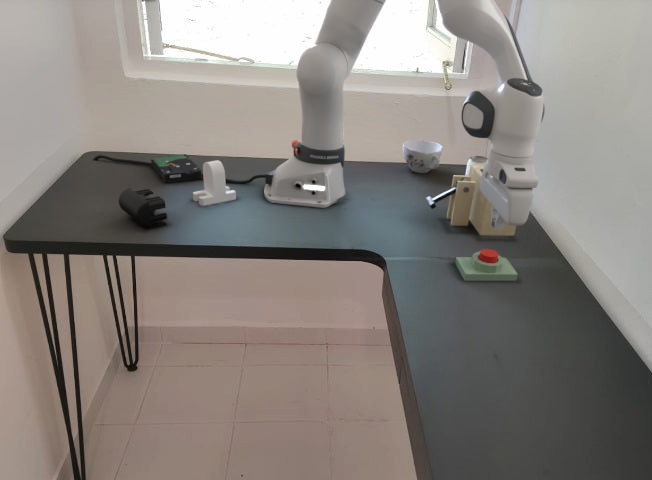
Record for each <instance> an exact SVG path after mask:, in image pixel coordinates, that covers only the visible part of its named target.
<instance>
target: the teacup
mask: <svg viewBox="0 0 652 480" xmlns="http://www.w3.org/2000/svg"><path fill="white" fill-rule="evenodd" d="M443 150H444V149H443V146H442V145H441V144H440V143H437V142H435V141H431V140H424V139H411V140H407V141H405V142H403V143H402V151H403V157H404V160H405V162H406V164H407V166H408V167H409V168H410V170H411V171H412V172H414V173H419V174H425V173H429V171H431V170H437V169H438V168H439V167H440V163H441V160H440V159H441V157H442V154H443Z"/></svg>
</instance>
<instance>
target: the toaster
mask: <svg viewBox="0 0 652 480" xmlns="http://www.w3.org/2000/svg"><path fill="white" fill-rule="evenodd" d="M484 166H485V165H480V164H471V167H470V172H469V176H471V181H475V182H476V184H475V189H474V195H473V200H472V206H471V211H470V216H469V221H470V223H471V224H472V226H473V227H474V229H475V230H476V232H477V233H478V235H479V236H506V237H509V236H510V237H513V236H515V234H516V230H517V229H516V228H517V226H511V225H508V224H507V223H506V222H505V223H504V225H503V229H502V230H501V231H498V230H495V229H494V228H493V226H492V225H491V219H492V216H491V204H490V203H489V201H488V200H487V199H486V198H485V196H484V195H483V194H482V193H481V192H480V181H481V177H482V173H483V169H484Z"/></svg>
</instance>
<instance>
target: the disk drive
mask: <svg viewBox="0 0 652 480" xmlns="http://www.w3.org/2000/svg"><path fill="white" fill-rule="evenodd" d="M150 163H152V166H151V167H152V168H153V169H154V170H155V172H156V173H157V175H159V177H160V178H161V180H163V182H165V183H175V182H176V183H177V182H186V181H193V180H200V179H203V177H202V174H203V172H202V170H201V168H200V167H199V166H198V165H197V164H196V163H195V162H194V161H193V160H192V159H191V158H190V157H189V156H188V155H187V154H174V155H173V154H172V155H167V156H158V157H157V156H156V157H155V156H152V157H151V159H150Z"/></svg>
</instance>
